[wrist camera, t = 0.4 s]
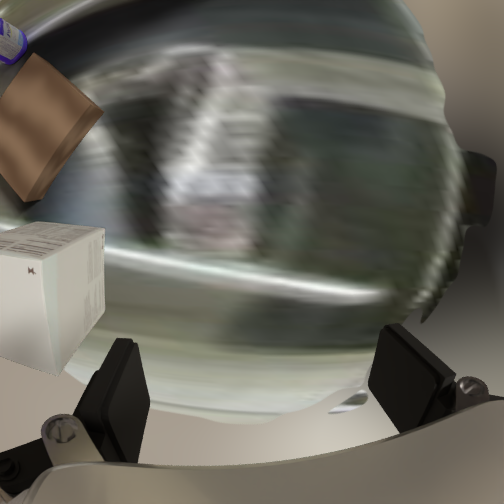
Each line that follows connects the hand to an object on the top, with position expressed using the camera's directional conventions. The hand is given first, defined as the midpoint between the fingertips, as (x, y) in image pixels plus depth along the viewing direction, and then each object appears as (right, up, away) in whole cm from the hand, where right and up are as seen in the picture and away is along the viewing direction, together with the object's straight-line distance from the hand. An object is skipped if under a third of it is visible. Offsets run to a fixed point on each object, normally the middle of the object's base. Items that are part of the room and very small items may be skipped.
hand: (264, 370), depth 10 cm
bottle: (-41, +39, +18) cm, 60 cm away
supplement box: (-28, +2, +28) cm, 40 cm away
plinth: (-32, +23, +22) cm, 46 cm away
